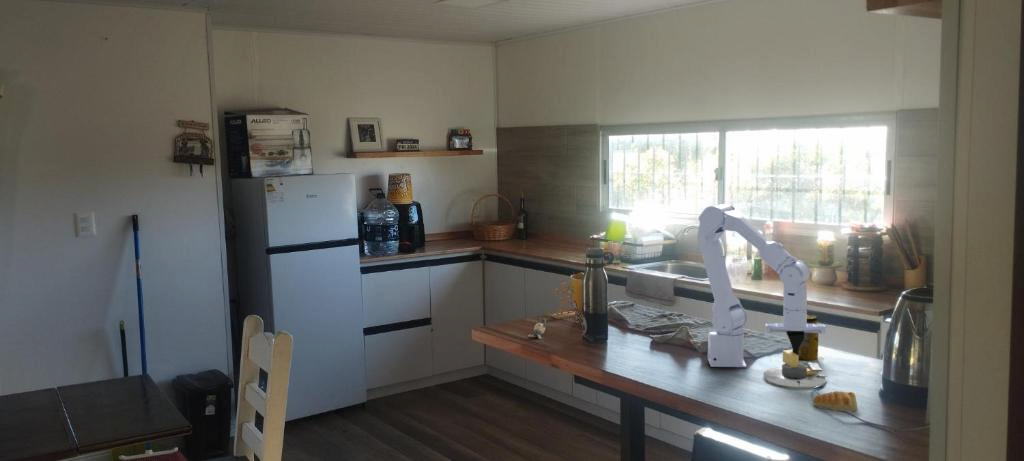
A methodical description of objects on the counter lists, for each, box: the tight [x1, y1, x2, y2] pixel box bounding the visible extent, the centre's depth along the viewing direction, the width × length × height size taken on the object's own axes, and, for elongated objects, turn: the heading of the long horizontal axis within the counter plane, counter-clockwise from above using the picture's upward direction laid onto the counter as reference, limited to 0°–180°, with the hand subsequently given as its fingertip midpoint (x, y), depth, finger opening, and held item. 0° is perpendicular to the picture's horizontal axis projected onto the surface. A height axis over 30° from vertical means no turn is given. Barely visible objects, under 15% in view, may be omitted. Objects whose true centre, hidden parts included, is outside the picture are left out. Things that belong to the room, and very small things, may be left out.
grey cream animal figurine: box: [528, 317, 547, 340], centre depth 249 cm, size 5×5×6 cm
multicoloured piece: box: [781, 349, 820, 378], centre depth 202 cm, size 8×9×5 cm
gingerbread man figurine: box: [551, 282, 576, 320], centre depth 274 cm, size 9×4×12 cm, turn 117°
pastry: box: [812, 390, 858, 412], centre depth 181 cm, size 9×7×4 cm
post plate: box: [763, 362, 828, 390], centre depth 201 cm, size 16×15×3 cm
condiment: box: [798, 314, 825, 365], centre depth 218 cm, size 7×8×12 cm
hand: (794, 359), depth 204 cm, fingers closed, pressing on multicoloured piece
